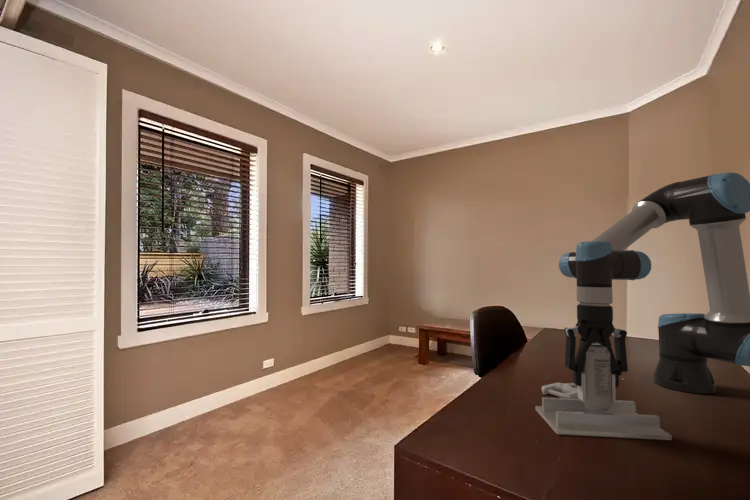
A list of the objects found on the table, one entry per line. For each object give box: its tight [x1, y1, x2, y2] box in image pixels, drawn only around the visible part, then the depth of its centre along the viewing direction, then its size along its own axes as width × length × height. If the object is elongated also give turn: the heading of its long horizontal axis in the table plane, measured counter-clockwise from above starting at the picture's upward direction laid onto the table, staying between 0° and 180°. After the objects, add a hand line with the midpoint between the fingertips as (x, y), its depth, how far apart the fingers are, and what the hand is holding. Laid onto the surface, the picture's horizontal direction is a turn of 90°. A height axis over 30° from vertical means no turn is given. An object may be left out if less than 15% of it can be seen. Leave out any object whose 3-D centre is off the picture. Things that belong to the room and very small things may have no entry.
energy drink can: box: [582, 342, 611, 412], centre depth 86 cm, size 6×6×15 cm
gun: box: [541, 382, 579, 399], centre depth 106 cm, size 18×4×10 cm
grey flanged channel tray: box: [535, 396, 673, 441], centre depth 86 cm, size 24×14×4 cm, turn 84°
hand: (596, 399), depth 86 cm, fingers closed on energy drink can, 6 cm apart
